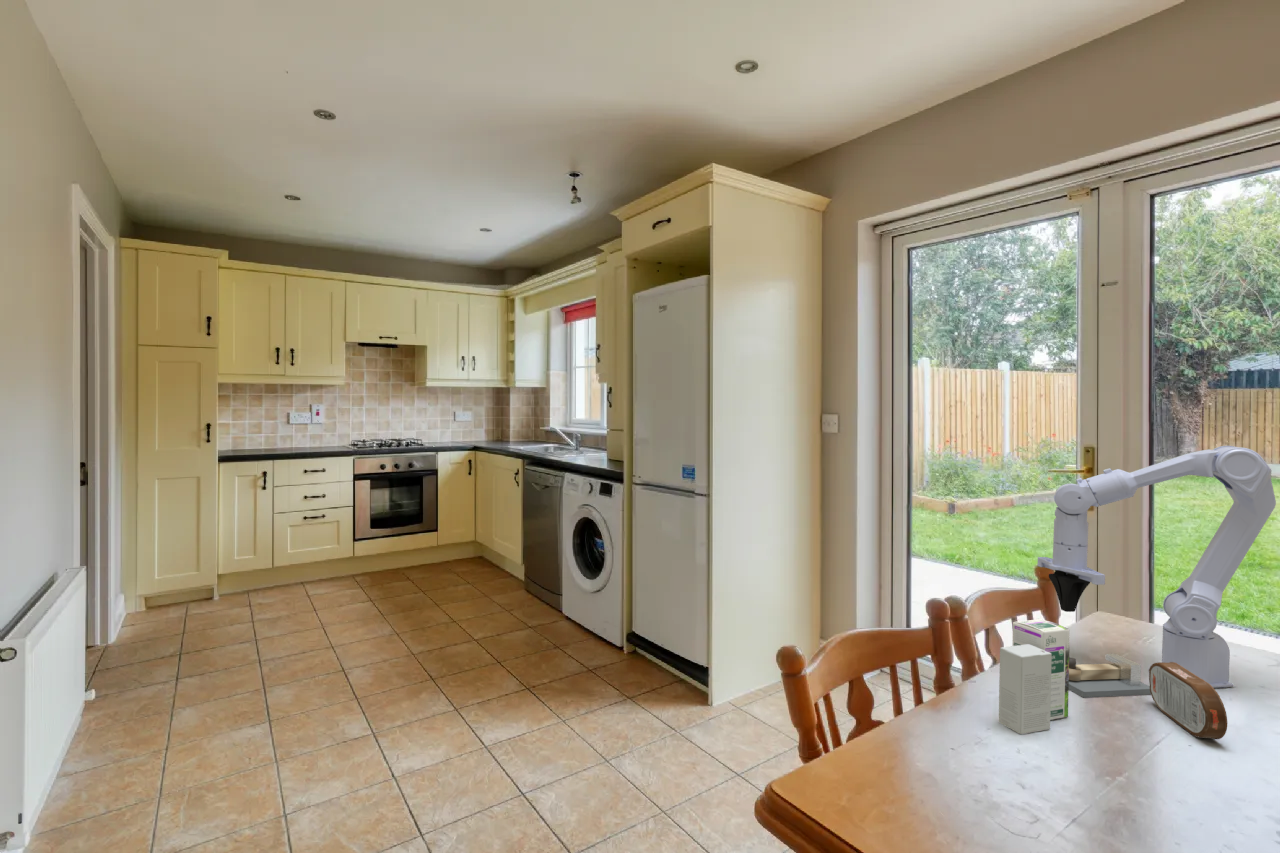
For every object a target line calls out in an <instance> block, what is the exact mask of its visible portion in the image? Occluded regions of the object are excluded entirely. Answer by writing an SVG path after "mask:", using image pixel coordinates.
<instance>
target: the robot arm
mask: <svg viewBox="0 0 1280 853" xmlns="http://www.w3.org/2000/svg"><path fill="white" fill-rule="evenodd" d="M1185 476H1197V477H1205V478H1215V479H1217V480H1218V481H1219V482H1220V483H1221V484H1222V485H1223V486H1224V488H1225V489H1226V491H1227V493H1228V494H1229V496H1230V498H1231V499H1232V501H1233V503H1232V505H1231V506H1230V508H1229V509H1228V511H1227V513H1226V514H1225V516H1224V518H1223V520H1222V521H1221V523H1220V525H1219V527H1218V528H1217V530H1216V532H1215V533H1214V535H1213V536H1212V538H1211V540H1210V542H1209V543H1208V544H1207V547H1206V548H1205V550H1204V552H1203V553H1202V555H1201V557H1200V558H1199V560H1198V562H1197V564H1196V565H1195V567H1194V569H1193V570H1192V572H1191V574H1190V575H1189V576H1188V577H1186V579H1183V581H1182V582H1181V583H1180V585H1179V587H1178V588H1177V589H1176V590H1174V591H1172V592H1170V593H1168V594H1167V595H1166V596H1165V597H1164V599H1163V605H1162V606H1163V610H1164V612H1165V614H1166V615H1167V616H1168V617H1169V618H1168V619H1167V621H1165V622H1164V624H1162V640H1161V641H1162V642H1161V643H1162V645H1161V648H1162V649H1161V662H1162V663H1169V662H1175V663H1177V664H1179V665H1180V666H1182V667H1183V668H1185V669H1187V670H1188V671H1190V672H1191V673H1193V674H1195V675H1196V676H1198V677H1199V678H1201V679H1203V680H1204V681H1206V682H1207V683H1209V684H1210V685H1211V686H1212V687H1213V688H1214V689H1215V688H1233V687H1234V685H1235V684H1234V683H1232V682H1230V680H1229V678H1230V656H1231V655H1230V646H1229V645H1228V643H1227V641H1226V640H1225V639H1224V638H1223V637H1222V636H1221V635H1220V634H1218V633H1216V632H1214V631H1215V630H1216V628H1217V625H1218V624H1217V623H1218V619H1217V615H1218V611H1219V609H1220V608H1221V606H1222V598H1223V592H1224V591H1225V590H1226V588H1227V586H1228V584H1229V583H1230V581H1231V579H1232V578H1233V576H1234V574H1235V573H1236V571H1237V570H1238V568H1239V566H1240V565H1241V564H1242V562H1243V560H1244V559H1245V557H1246V556H1247V554H1248V553H1249V550H1250V548H1251V547H1252V545H1253V544H1254V542H1255V541H1256V539H1257V537H1259V536H1258V535H1259V534H1260V533H1261V530H1262V529H1263V527H1264V526H1265V524H1266V523H1267V521H1268V519H1269V518H1270V516H1271V515H1272V513H1273V511H1274V510H1275V508H1276V505H1277V500H1276V496H1275V492H1274V487H1273V482H1272V478H1271V477H1272V468H1271V467H1270V466H1269V464H1268V463H1267V461H1265V459H1264V458H1263V457H1262V456H1261V455H1260V453H1258V452H1257V451H1255V450H1253V449H1251V448H1246V447H1241V446H1240V447H1239V446H1238V447H1237V446H1235V445H1234V446H1233V445H1222V446H1218V447H1215V448H1213V449H1209V448H1208V449H1203V450H1197V451H1194V452H1189V453H1185V454H1182V455H1179V456H1176V457H1173V458H1170V459H1167V460H1164V461H1161V462H1158V463H1155V464H1151V465H1148V466H1146V467H1142V468H1140V469H1136V470H1134V471H1131V472H1128V471H1125V470H1123V469H1120V468H1117V469H1114V470H1112V469H1111V468H1110V467H1109V468H1106V469H1103V473H1101V474H1098V475H1094V476H1091V477H1088V478H1086V479H1082V477H1079V478H1076V479H1075V480H1076V482H1077V483H1072V482H1071V483H1065V484H1062V485H1060V486H1059V487H1058V488H1057V489H1056V491H1055V493H1054V495H1053V500H1054V502H1055V504H1056V507H1055V510H1054V517H1055V518H1054V520H1053V538H1052V539H1053V540H1052V541H1053V542H1052V557H1047V556H1037V567H1040V568H1045V569H1046V568H1047V569H1050V570H1052V571H1054V572H1053V573H1048V578H1049V580H1050V581H1051V583H1052V585H1053V588H1054V589H1055V592H1056V595H1057V599H1058V604H1059V608H1060V609H1061V611H1064V612H1066V613H1067V612H1069V613H1071V612H1073V613H1074V612H1076V610H1077V607H1078V604H1079V601H1080V598H1081V597H1082V595H1083V593H1084V591H1085V589H1086V588H1087V587H1088V586H1089V585H1090V583H1091V584H1092V585H1096V586H1099V585H1103V586H1104V585H1105V584H1106V574H1104V573H1101V572H1098V571H1097V570H1094V569H1093V568H1090V567H1089V566H1088V552H1089V550H1088V547H1089V545H1088V544H1089V522H1088V510H1089V509H1090V508H1091V507H1095V508H1098V507H1101V506H1106V505H1109V504H1112V503H1115V502H1120V501H1123V500H1126V499H1130V498H1133V497H1134V496H1135V494H1136V492H1137V490H1138V489H1139V488H1143V487H1147V486H1150V485H1155V484H1158V483H1162V482H1163V483H1164V482H1165V481H1167V482H1168V481H1169V480H1175V479H1178V478H1181V477H1185Z"/></svg>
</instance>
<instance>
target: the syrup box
mask: <svg viewBox="0 0 1280 853" xmlns="http://www.w3.org/2000/svg"><path fill="white" fill-rule="evenodd" d="M1025 644H1030V645H1032V646H1035V647H1037V648H1040V649H1042V650H1045V651H1047V652H1049V653H1051V654H1052V662H1051V711H1050V721H1051V720H1052V721H1053V720H1056V719H1062V718H1065V719H1066V718H1068V717H1069V689H1068V688H1069V657H1070V629H1069V628H1067V627H1065V626H1063V625H1060V624H1059V623H1056V622H1053V621H1049V620H1045V619H1041V618H1035V619H1031V620H1030V619H1028V620H1020V621H1018V620H1017V621H1013V622H1012V645H1011V646H1018V645H1025Z"/></svg>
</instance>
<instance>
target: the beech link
mask: <svg viewBox="0 0 1280 853" xmlns="http://www.w3.org/2000/svg"><path fill="white" fill-rule="evenodd" d="M1076 664H1077V659H1076V658H1074V657H1070V656H1069V680H1072V681H1080V680H1101V679H1120V675H1121V666H1119V665H1117V664H1115V663H1083V664H1082V663H1080V664H1081V665H1076Z"/></svg>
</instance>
